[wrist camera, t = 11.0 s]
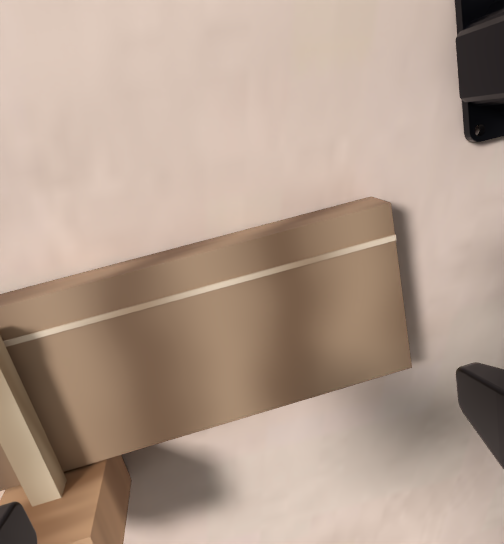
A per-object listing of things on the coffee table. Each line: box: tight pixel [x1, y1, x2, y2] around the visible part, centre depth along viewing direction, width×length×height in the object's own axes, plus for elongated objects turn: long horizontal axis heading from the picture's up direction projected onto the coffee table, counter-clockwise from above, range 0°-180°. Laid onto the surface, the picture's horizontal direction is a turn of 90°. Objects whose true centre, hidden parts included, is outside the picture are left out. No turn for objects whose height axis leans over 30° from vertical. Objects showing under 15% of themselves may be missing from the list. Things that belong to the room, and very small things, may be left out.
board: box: [0, 197, 412, 491], centre depth 20 cm, size 22×8×2 cm, turn 103°
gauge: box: [0, 336, 131, 544], centre depth 18 cm, size 4×11×6 cm, turn 13°
